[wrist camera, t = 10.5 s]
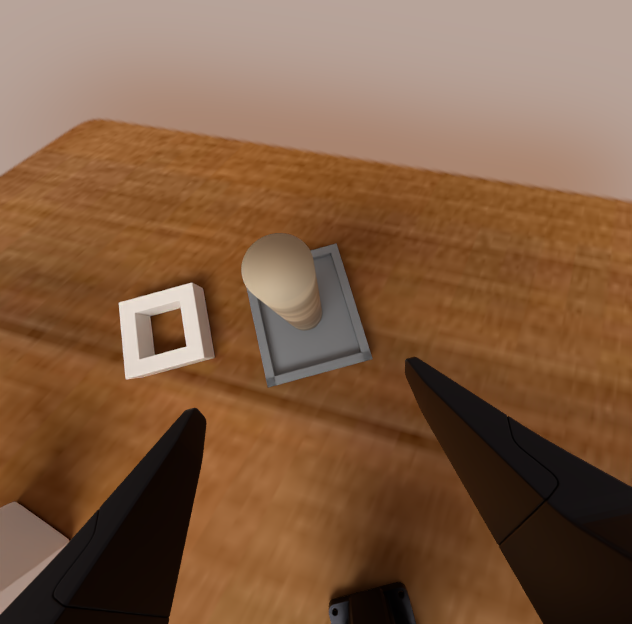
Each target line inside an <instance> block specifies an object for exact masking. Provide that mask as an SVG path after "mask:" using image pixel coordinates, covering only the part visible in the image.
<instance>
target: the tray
mask: <svg viewBox="0 0 632 624" xmlns="http://www.w3.org/2000/svg"><path fill="white" fill-rule="evenodd" d="M311 253H312V256H313V260H314V266H315V272H316V278H317V284H318V290H319V296H320V301H321V307H322V318H321V321H320V322H319V324H318V325H317V326H316V327H314V328H313V329H311V330H305V331H303V330H299V329H296V328H295V327H294V326H292V325H291V324H290V323H288V322H287V321H286V320H285V319H283V318H282V317H281V316H280V315H278V314H277V313H276V312H275V311H273V310H272V309H271V308H270V307H268V306H267V305H266V304H265V303H263V302H262V301H261V300H260V299H258V298H257V297H256V296H254V295H253V294H252V293H251V292H250V291H249V290H248V288H247V292H248V296H249V301H250V306H251V310H252V315H253V320H254V325H255V329H256V334H257V339H258V343H259V348H260V353H261V357H262V362H263V367H264V371H265V376H266V381H267V386H268V387H271V386H275V385H279V384H282V383H286V382H290V381H293V380H297V379H301V378H304V377H308V376H312V375H315V374H319V373H323V372H326V371H330V370H334V369H337V368H341V367H345V366H348V365H352V364H356V363H359V362H363V361H367V360H371V359H372V356H371V352H370V349H369V346H368V343H367V340H366V336H365V333H364V330H363V327H362V324H361V320H360V317H359V314H358V311H357V308H356V304H355V301H354V298H353V295H352V292H351V288H350V285H349V282H348V279H347V276H346V272H345V269H344V266H343V263H342V260H341V256H340V253H339V250H338V247H337V243H336V244H333V245H329V246H326V247H322V248H318V249H315V250H311Z"/></svg>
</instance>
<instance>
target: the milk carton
mask: <svg viewBox="0 0 632 624" xmlns="http://www.w3.org/2000/svg"><path fill="white" fill-rule="evenodd" d="M68 543H69V539H67V538H66V537H65V536H63V535H62V534H61V533H59V532H58V531H57V530H55V529H54V528H52V527H51V526H49V525H48V524H47V523H45V522H44V521H42V520H41V519H40V518H38V517H37V516H35V515H34V514H33V513H31V512H30V511H28V510H27V509H26V508H24V507H23V506H21V505H20V504H18V503H17V502H12V503H9V504H7V505H5V506H3V507H1V508H0V614H1V613H2V612H3V611H4V610H5V609H6V608H7V607H8V606H9V605H10V604H11V603H12V602H13V601H14V600H15V599H16V597H17V596H18V595H19V594H20V593H21V592H22V591H23V590H24V589H25V588H26V587H27V586H28V585H29V584H30V583H31V582H32V581H33V580H34V579H35V578H36V577H37V576H38V575H39V573H40V572H41V571H42V570H43V569H44V568H45V567H46V566H47V565H48V564H49V563H50V562H51V561H52V560H53V559H54V558H55V557H56V555H57V554H58V553H59V552H60V551H61V550H62V549H63V548H64V547H65V546H66V545H67V544H68Z"/></svg>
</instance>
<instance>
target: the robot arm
mask: <svg viewBox="0 0 632 624" xmlns="http://www.w3.org/2000/svg"><path fill="white" fill-rule="evenodd" d="M405 375H406V378H407V380H408V382H409V384H410V387H411V389H412V391H413V394H414V396H415V398H416V400H417V403H418V405H419V407H420V409H421V411H422V413H423V415H424V417H425V419H426V420H427V422H428V424H429V426H430V427H431V429H432V431H433V433H434V434H435V436H436V438H437V440H438V441H439V443H440V445H441V447H442V448H443V450H444V452H445V453H446V455H447V457H448V459H449V460H450V462H451V464H452V466H453V467H454V469H455V471H456V473H457V474H458V476H459V478H460V480H461V481H462V483H463V485H464V487H465V488H466V490H467V492H468V493H469V495H470V497H471V499H472V500H473V502H474V504H475V506H476V507H477V509H478V511H479V513H480V514H481V516H482V518H483V520H484V521H485V523H486V525H487V526H488V528H489V530H490V532H491V533H492V535H493V537H494V539H495V540H496V542H497V544H498V545H499V548H500V549H501V551H502V553H503V555H504V556H505V558H506V560H507V562H508V563H509V565H510V567H511V568H512V570H513V572H514V574H515V575H516V577H517V579H518V581H519V582H520V584H521V586H522V588H523V589H524V591H525V593H526V595H527V596H528V598H529V600H530V602H531V603H532V605H533V607H534V608H535V610H536V612H537V614H538V615H539V617H540V619H541V621H542V622H543V624H632V487H631V486H629V485H627V484H625V483H623V482H622V481H620V480H618V479H616V478H614V477H613V476H611V475H609V474H607V473H605V472H603V471H602V470H600V469H598V468H596V467H594V466H593V465H591V464H589V463H587V462H585V461H584V460H582V459H580V458H578V457H576V456H575V455H573V454H571V453H569V452H567V451H566V450H564V449H562V448H560V447H559V446H557V445H555V444H553V443H552V442H550V441H548V440H546V439H545V438H543V437H541V436H540V435H538V434H536V433H535V432H533V431H531V430H530V429H528V428H527V427H525V426H523V425H522V424H520V423H519V422H517V421H515V420H514V419H512V418H511V417H509V416H508V417H507V415H506V414H504V413H503V412H501V411H500V410H498V409H497V408H495V407H493V406H492V405H490V404H489V403H487V402H486V401H484V400H483V399H481V398H479V397H478V396H476V395H475V394H473V393H472V392H470V391H468V390H467V389H465V388H464V387H462V386H461V385H459V384H458V383H456V382H454V381H453V380H451V379H450V378H448V377H447V376H445V375H444V374H442V373H440V372H439V371H437V370H436V369H434V368H433V367H431V366H429V365H428V364H426V363H425V362H423V361H422V360H420V359H419V358H417V357H411V358H407V359H406V360H405ZM205 432H206V419H205V417H204V416H203V415H202V413H201V412H200V411H199V410H198V409H197V408H192V409H188V410H186V411H184V412H183V413H182V415H181V416H180V417H179V418H178V419H177V420H176V421H175V423H174V424H173V425H172V426H171V427H170V428H169V429H168V431H167V432H166V433H165V434H164V435H163V436H162V437H161V438H160V440H159V441H158V442H157V443H156V444H155V445H154V446H153V448H152V449H151V450H150V451H149V452H148V453H147V454H146V456H145V457H144V458H143V459H142V460H141V461H140V462H139V464H138V465H137V466H136V467H135V468H134V469H133V470H132V472H131V473H130V474H129V475H128V476H127V477H126V478H125V479H124V481H123V482H122V483H121V484H120V485H119V486H118V487H117V489H116V490H115V491H114V492H113V493H112V494H111V495H110V497H109V498H108V499H107V500H106V501H105V502H104V503H103V505H102V506H101V507H100V509H99V510H97V511H96V512H95V514H94V515H93V516H92V517H91V518H90V519H89V520H88V522H87V523H86V524H85V525H84V526H83V527H82V528H81V529H80V530H79V532H78V533H77V534H76V535H75V536H74V537H73V538H72V539H71V540H70V542H69V543H68V544H67V545H66V546H65V547H64V548H63V549H62V550H61V551H60V552H59V553H58V554H57V555H56V557H55V558H54V559H53V560H52V561H51V562H50V563H49V564H48V565H47V566H46V567H45V568H44V569H43V570H42V571H41V572H40V573H39V575H38V576H37V577H36V578H35V579H34V580H33V581H32V582H31V583H30V584H29V585H28V586H27V587H26V588H25V589H24V590H23V591H22V592H21V593H20V594H19V595H18V596H17V597H16V599H15V600H14V601H13V602H12V603H11V604H10V605H9V606H8V607H7V608H6V609H5V610H4V611H3V612H2V613H1V614H0V624H168V623H169V616H170V612H171V607H172V603H173V598H174V593H175V588H176V584H177V579H178V574H179V569H180V565H181V560H182V555H183V550H184V546H185V541H186V536H187V531H188V527H189V522H190V517H191V512H192V508H193V503H194V498H195V493H196V489H197V484H198V479H199V474H200V470H201V464H202V458H203V450H204V441H205ZM399 591H403V592H402V593H399ZM334 608H336V609H337V610H333V609H334ZM329 616H330V620H331V624H416V621H415V618H414V614H413V611H412V607H411V604H410V600H409V597H408V593H407V590H406V587H405V585H404V584H403V583H401V582H397V583H393V584H389V585H385V586H382V587H378V588H374V589H370V590H367V591H363V592H359V593H355V594H351V595H348V596H344V597H340V598H336V599H333V600H331V601H330V603H329Z"/></svg>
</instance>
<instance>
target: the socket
mask: <svg viewBox="0 0 632 624" xmlns="http://www.w3.org/2000/svg"><path fill="white" fill-rule="evenodd" d="M178 308H181V312H182V319H183V326H184V332H185V339H186V346H187V347H183V348H179V349H176V350H172V351H168V352H165V353H161V354H157V355H155V352H154V343H153V335H152V326H151V318H150V316H153V315H157V314H160V313H164V312H168V311H171V310H175V309H178ZM119 310H120V322H121V333H122V344H123V355H124V366H125V377H126V379H133V378H141V377H146V376H150V375H153V374H157V373H161V372H164V371H168V370H171V369H175V368H179V367H182V366H186V365H190V364H193V363H197V362H201V361H204V360H208V359H212V358H215V355H214V349H213V344H212V338H211V332H210V326H209V320H208V314H207V309H206V303H205V297H204V291H203V288H202V287H200V286H198V285H196V284H194V283H188V284H185V285H181V286H178V287H174V288H170V289H167V290H163V291H160V292H156V293H152V294H149V295H145V296H141V297H138V298H134V299H131V300H127V301H123V302H120V303H119Z"/></svg>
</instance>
